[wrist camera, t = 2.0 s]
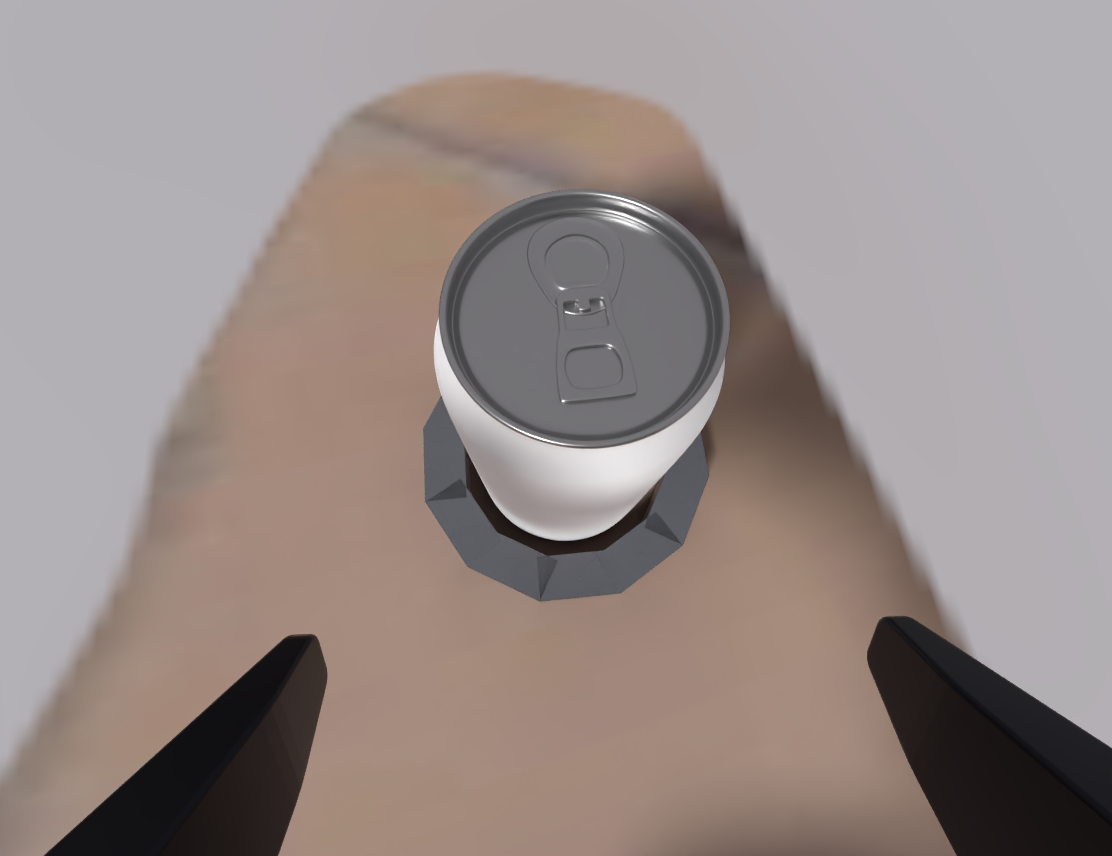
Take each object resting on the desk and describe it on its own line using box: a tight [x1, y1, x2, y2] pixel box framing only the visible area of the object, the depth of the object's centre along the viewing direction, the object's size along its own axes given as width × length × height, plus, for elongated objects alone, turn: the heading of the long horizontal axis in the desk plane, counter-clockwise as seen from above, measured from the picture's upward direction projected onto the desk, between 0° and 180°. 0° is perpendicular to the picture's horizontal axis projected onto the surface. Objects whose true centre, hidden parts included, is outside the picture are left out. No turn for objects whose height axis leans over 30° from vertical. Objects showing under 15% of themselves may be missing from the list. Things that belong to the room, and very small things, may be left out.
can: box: [434, 189, 730, 541], centre depth 16 cm, size 6×6×12 cm
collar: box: [423, 396, 709, 601], centre depth 21 cm, size 10×10×2 cm
